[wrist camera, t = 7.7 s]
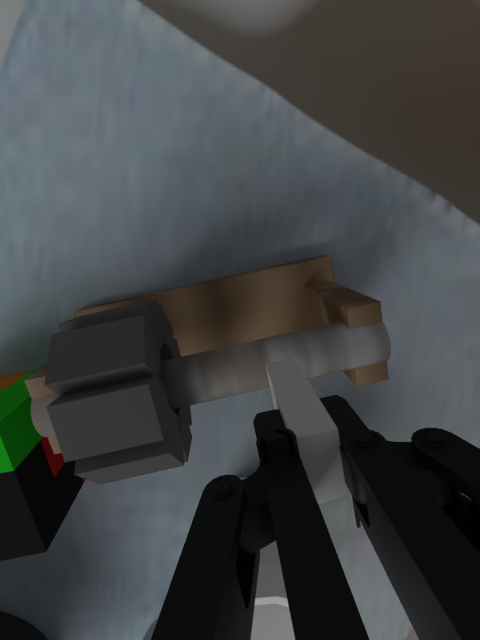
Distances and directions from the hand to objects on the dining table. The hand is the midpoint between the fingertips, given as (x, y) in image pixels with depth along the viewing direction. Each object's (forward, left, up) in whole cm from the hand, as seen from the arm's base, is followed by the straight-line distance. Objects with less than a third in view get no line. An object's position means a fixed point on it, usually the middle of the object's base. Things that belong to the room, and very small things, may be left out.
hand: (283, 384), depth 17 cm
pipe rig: (-4, 0, -14) cm, 14 cm away
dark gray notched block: (-9, 0, -4) cm, 10 cm away
